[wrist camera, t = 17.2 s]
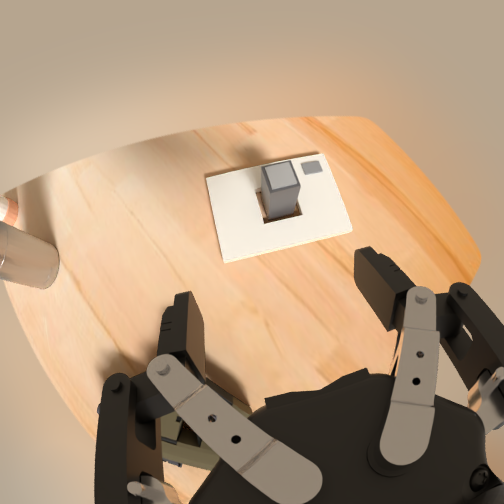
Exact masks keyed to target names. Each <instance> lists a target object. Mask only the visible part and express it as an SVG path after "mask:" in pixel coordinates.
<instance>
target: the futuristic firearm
mask: <svg viewBox="0 0 504 504" xmlns="http://www.w3.org/2000/svg"><path fill="white" fill-rule="evenodd" d="M201 383H202V384H203V385H204V384H206V385H207V386H209V387H210V388H211V389H212V390H213V391H214V392H216V393H217V394H218V395H219V396H220V397H221V398H222V399H224V400H225V401H226V402H227V403H228V404H230V405H231V406H232V407H233V408H234V409H236V410H237V411H238V412H239V413H240V414H242V415H243V416H244V417H246V418H248V417H249V416H250V415H251V414H252V410H251V408H250V407H249V406H247V405H246V404H244V403H243V402H241V401H240V400H238V399H237V398H235V397H234V396H232V395H231V394H229V393H228V392H226V391H225V390H223V389H222V388H220V387H219V386H218V385H216V384H215V383H213V382H212V381H211V380H209V379H208V378H206V382H201ZM100 404H101V403H100ZM100 404H99V405H98V408H97V413H98V414H99V411H100ZM183 422H184V420H183V419H182V418H181V417H180V415H179V414H178V413H177V412H176V411H174V412H172V413H169V414H167V415H165V416H162V417H161V442H162V460H163V461H164V462H166V461H168V463H170V464H174V465H177V466H178V467H182V464H186V465H189V466H193V467H197V468H201V469H206V470H210V471H212V469H213V468H214V466H215V465H216V463H217V462H218V460H219V459H220V456H219V455H218V454H217V453H216V452H215V451H214V450H213V449H212V448H211V447H209V446H208V445H207V444H206V443H205V442H204V441H203V440H202V439H201V438H200V437H199V436H198V435H197V434H196V433H195V432H194V431H190V430H186V429H183V428H182V427H183Z"/></svg>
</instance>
